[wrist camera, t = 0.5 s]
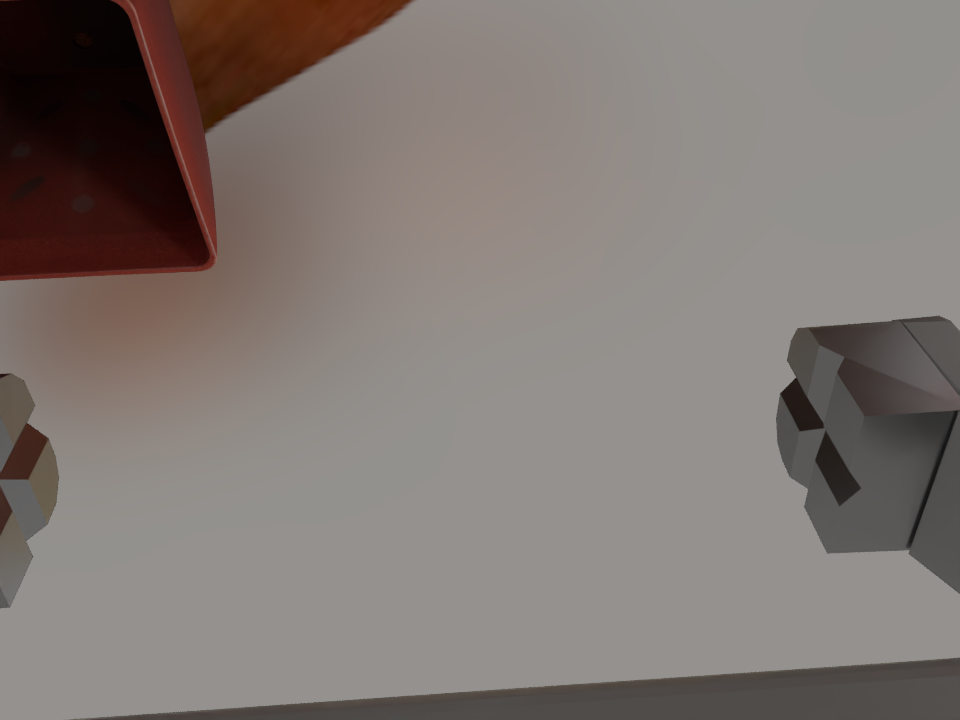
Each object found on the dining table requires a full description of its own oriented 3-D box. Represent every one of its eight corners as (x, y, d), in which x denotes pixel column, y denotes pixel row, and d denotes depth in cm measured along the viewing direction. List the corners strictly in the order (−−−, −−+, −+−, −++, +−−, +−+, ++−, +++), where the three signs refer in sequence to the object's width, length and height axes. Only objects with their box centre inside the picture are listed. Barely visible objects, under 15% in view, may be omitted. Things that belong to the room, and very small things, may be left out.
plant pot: (-29, 112, 66) (-99, 290, 56) (-181, -171, 50) (-314, 3, 40) (241, 100, 67) (220, 272, 57) (172, -181, 52) (128, -14, 41)
